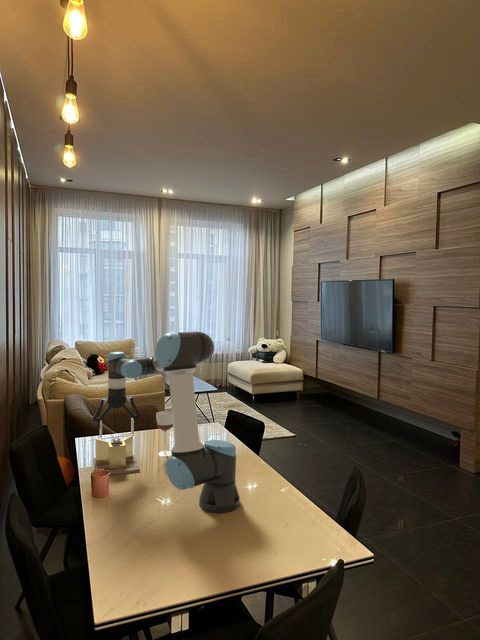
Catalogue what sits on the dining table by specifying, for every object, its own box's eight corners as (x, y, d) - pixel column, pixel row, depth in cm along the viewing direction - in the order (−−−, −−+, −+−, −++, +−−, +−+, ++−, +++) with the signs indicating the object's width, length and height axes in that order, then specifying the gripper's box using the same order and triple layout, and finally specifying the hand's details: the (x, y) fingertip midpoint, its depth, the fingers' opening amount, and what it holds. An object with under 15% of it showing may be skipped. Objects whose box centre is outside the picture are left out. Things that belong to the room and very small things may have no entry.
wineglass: (172, 456, 212) (172, 415, 211) (154, 456, 212) (154, 415, 211) (175, 451, 220) (175, 411, 219) (157, 450, 220) (157, 410, 219)
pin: (118, 467, 195) (118, 440, 194) (111, 466, 196) (111, 440, 195) (121, 464, 198) (121, 438, 197) (114, 463, 199) (114, 437, 198)
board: (139, 471, 194) (139, 468, 194) (96, 477, 187) (96, 474, 187) (132, 455, 213) (133, 453, 213) (93, 460, 206) (93, 458, 206)
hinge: (136, 466, 197) (136, 443, 197) (97, 470, 191) (97, 448, 190) (132, 455, 209) (132, 435, 209) (95, 460, 203) (95, 438, 203)
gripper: (144, 383, 203) (143, 429, 205) (86, 387, 194) (86, 434, 195) (146, 387, 196) (146, 434, 198) (87, 390, 187) (87, 440, 188)
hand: (116, 434), depth 196 cm, fingers open, 13 cm apart
